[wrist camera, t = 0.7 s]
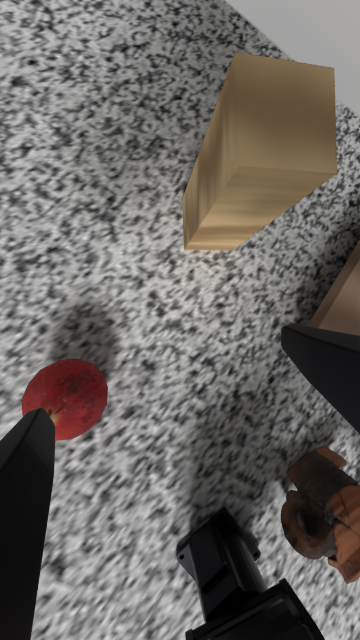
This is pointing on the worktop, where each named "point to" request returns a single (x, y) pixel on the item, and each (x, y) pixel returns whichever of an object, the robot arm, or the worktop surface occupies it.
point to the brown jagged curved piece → (308, 512)
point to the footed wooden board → (342, 299)
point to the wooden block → (260, 150)
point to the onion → (68, 396)
